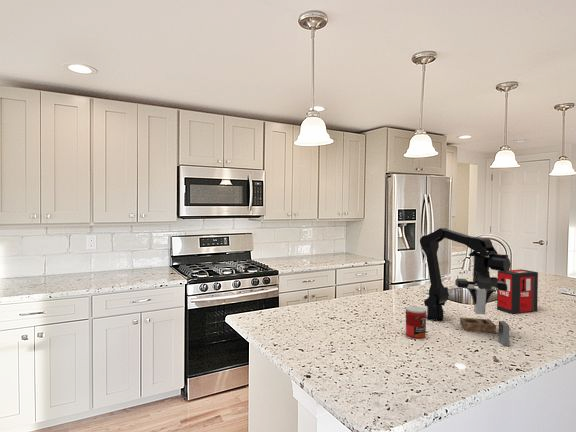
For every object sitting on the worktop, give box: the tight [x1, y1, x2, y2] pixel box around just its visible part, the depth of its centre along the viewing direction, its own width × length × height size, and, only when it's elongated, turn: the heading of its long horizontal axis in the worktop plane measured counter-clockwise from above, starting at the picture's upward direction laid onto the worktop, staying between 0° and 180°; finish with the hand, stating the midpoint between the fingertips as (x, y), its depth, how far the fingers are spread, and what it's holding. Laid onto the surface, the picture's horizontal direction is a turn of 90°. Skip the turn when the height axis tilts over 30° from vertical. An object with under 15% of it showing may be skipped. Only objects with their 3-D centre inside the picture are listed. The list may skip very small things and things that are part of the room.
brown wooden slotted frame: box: [459, 317, 497, 334], centre depth 156 cm, size 12×9×3 cm
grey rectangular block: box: [497, 320, 510, 347], centre depth 138 cm, size 2×5×8 cm, turn 166°
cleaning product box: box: [496, 268, 539, 316], centre depth 184 cm, size 16×9×20 cm, turn 108°
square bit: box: [473, 287, 487, 315], centre depth 152 cm, size 4×4×10 cm
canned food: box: [405, 305, 427, 340], centre depth 147 cm, size 8×8×11 cm
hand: (479, 304), depth 152 cm, fingers closed on square bit, 3 cm apart
